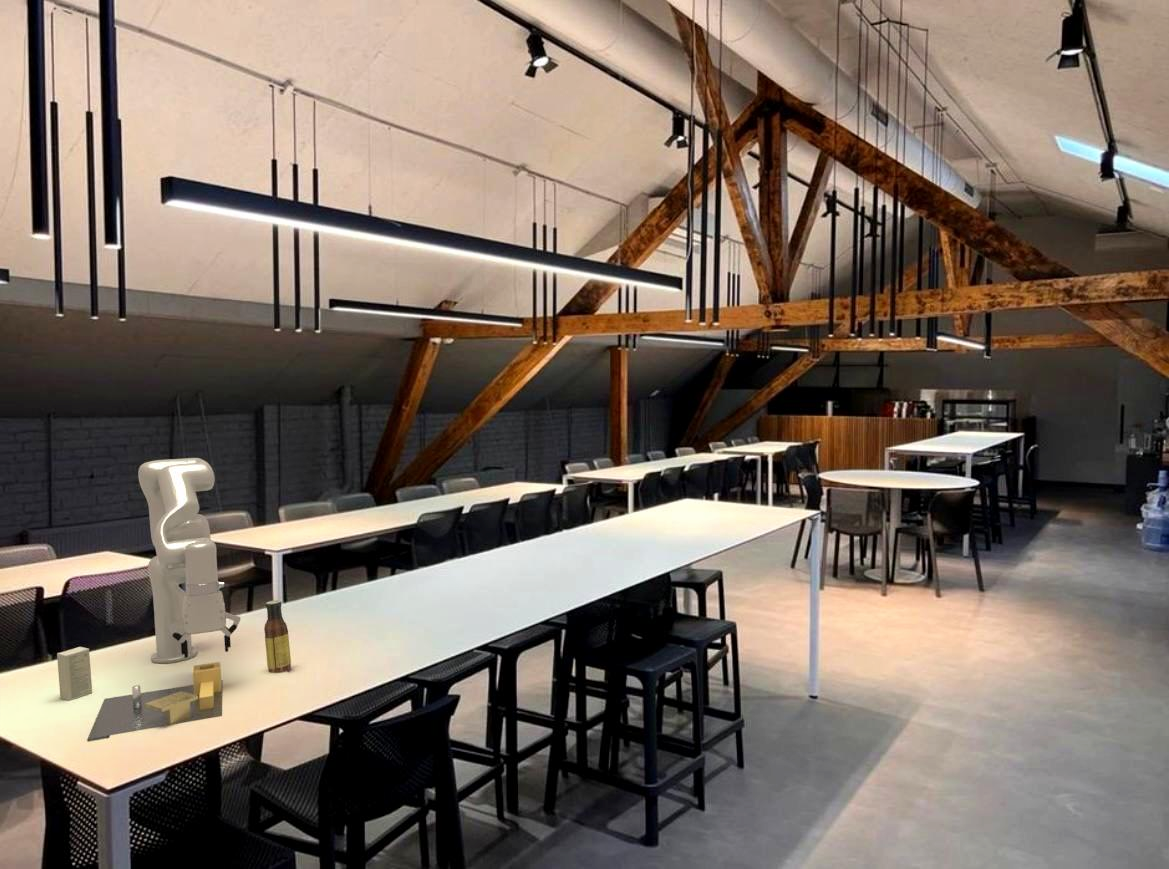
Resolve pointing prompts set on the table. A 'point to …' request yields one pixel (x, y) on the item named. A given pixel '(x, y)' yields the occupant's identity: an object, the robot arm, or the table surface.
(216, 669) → the link
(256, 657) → the table surface
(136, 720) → the pintle board
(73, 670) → the skincare box
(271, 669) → the sauce bottle
